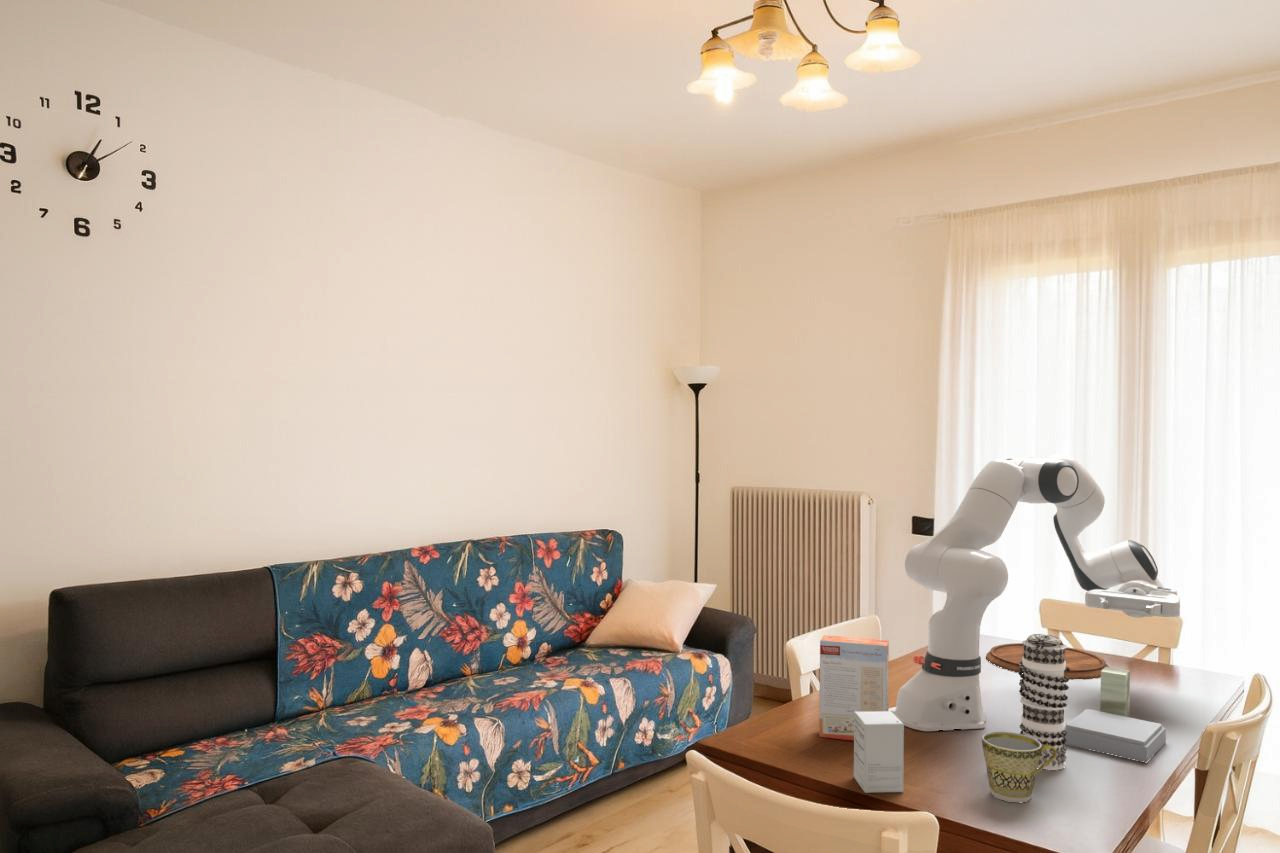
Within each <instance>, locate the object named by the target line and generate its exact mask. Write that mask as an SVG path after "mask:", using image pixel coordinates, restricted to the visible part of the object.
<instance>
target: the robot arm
mask: <svg viewBox="0 0 1280 853" xmlns="http://www.w3.org/2000/svg"><path fill="white" fill-rule="evenodd" d="M1019 502H1020V503H1027V504H1054V505H1055V507H1056V513H1055V514H1054V516H1053V518H1052V519H1053V525H1054V526H1053V527H1054V530H1055V532H1056V535H1057V537H1058V539H1059V541H1060V543H1061V546H1062V548H1063V550H1064V552H1065V555H1066V557H1067V560H1068V561H1069V563H1070V566H1071V567H1072V570H1073V574H1074V578H1075V580H1076V582H1077V583H1078V585H1079V586H1080V587H1081V589H1083V590H1084V591H1086V592H1085V595H1084V602H1085V606H1086V607H1089V608H1096V609H1105V610H1113V611H1121V612H1123V614H1125V615H1127V616H1128V617H1131V618H1136V619H1141V618H1151V617H1163V618H1165V617H1166V618H1167V617H1168V618H1180V616H1181V598H1180V596H1178V592H1177V590H1175V589H1170V588H1166V587H1163V584H1162V582H1161V581H1160V579H1158V574H1159V570H1158V566H1157V564H1156V561H1155V559H1154V557H1153V556H1152V554H1151V552H1150V551H1149V549H1148V548H1146V547H1145V545H1143V544H1140V543H1139V542H1137V541H1134V540H1133V539H1131V540H1130V539H1128V540H1125V541H1122V542H1120V543H1117V544H1114V545H1111V546H1109V547H1106V548H1103V549H1101V550H1098V551H1097V550H1096V551H1094V552H1091V553H1090V552H1085V551H1084V548H1083V546H1082V544H1081V542H1080V539H1079V538H1078V536H1079V535H1080V534H1081V533H1082V532H1083V531H1084V530H1086V529H1087V528H1088V527H1089V526H1091V525H1092V524H1093V523H1095V521H1097V520H1098V518H1099V517H1100V515H1102V512H1103V510H1104V507H1105V502H1106V499H1105V495H1104V493H1103V491H1102V489H1101V486H1099V484H1098V483H1097V481H1096V480H1095V478H1094V477H1093V475H1091V474H1090V472H1089V471H1088V470H1087V469H1086V468H1085V467H1084V466H1083V465H1082V464H1081V463H1080V462H1079V461H1078V460H1077V459H1076V458H1074V456H1071V455H1070V454H1067V453H1062V452H1061V453H1060V452H1059V453H1054V454H1052V455H1050V456H1048V457H1046V458H1039V457H1021V458H1007V459H1003V458H996V459H993V460H990V461H989V462H987V464H985V466H984V467H982V469H981V470H980V472H979V473H978V474H977V475H976V477H975V479H973V481H972V483H971V485H970V487H969V488H968V490H967V492H966V493H965V496H964V497H963V499H962V501H961V503H960V505H959V506H958V507H957V510H956V512H955V513H954V514H953V516H952V517H951V519H950V520H949V521H948V522H947V523H946V524H945V525H944V526H943V527H941V529H940V530H939V531H937V532H936V533H935V534H933V535H932V536H931V537H930V538H928V539H926V540H925V541H923V542H921V543H919V544H915V545H914V546H912V547H911V548H910V549H909V551H908V552H907V554H906V556H905V561H904V569H905V573H906V576H907V577H908V579H909V580H910V581H911V582H914V583H915V584H917V585H919V586H920V587H922V588H925V589H927V590H931V591H936V592H941V593H945V594H946V598H945V599H946V600H945V603H944V605H943V607H942V609H941V610H939V611H938V610H937V611H936V612H935V613H933V614H932V615H931V616H930V618H929V620H928V644H927V645H928V648H927V651H926V652H925V655H924V656H923V655H920V654H919V653H917V654H914V655H913V656H912V661H913V663H915V664H918V665H920V666H921V669H920V670H919V671H918V672H916V674H914V675H913V676H912V677H911V678H910V679H909V680H908V681H907V682H905V684H903V685H902V686H900V688H899V689H898V692H897V696H896V703H895V704H896V705H895V706H893V707H888V711H891V712H892V713H893V714H894V715H895V716H896V717H897V718H898V719H899V720H900V721H901V722H902V723H903V724H904V727H907V728H909V729H913V730H918V731H921V732H938V731H939V730H943V731H955V730H954V729H961V730H975V729H984V728H986V727H985V726H986V725H985V723H986V719H987V718H986V714H985V710H984V706H983V701H982V699H983V698H982V691H981V684H980V674H981V672H982V658H981V656H980V635H981V634H980V633H981V625H982V619H983V617H984V615H985V611H986V610H987V608H988V607H989V605H990V604H991V603H992V602H993V601H994V600H995V599H997V598H998V597H1000V596H1001V595H1003V593H1004V591H1005V590H1006V588H1007V585H1008V582H1009V573H1008V568H1007V566H1006V564H1005V563H1006V562H1004V561H1003V559H1002V558H1000V557H998V556H996V555H994V554H991V553H989V552H986V551H984V550H982V549H983V548H985V547H988V546H991V545H993V544H995V543H996V542H997V541H999V539H1001V537H1002V535H1003V533H1004V532H1005V530H1006V526H1007V525H1008V524H1009V521H1010V519H1011V517H1012V515H1013V513H1014V511H1015V509H1016V507H1017V505H1018V503H1019ZM1119 585H1121V586H1120V587H1119V588H1118V590H1111V589H1110V588H1113V587H1116V586H1119Z"/></svg>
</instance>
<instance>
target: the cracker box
mask: <svg viewBox="0 0 1280 853" xmlns="http://www.w3.org/2000/svg"><path fill="white" fill-rule="evenodd" d="M889 642H890V641H889V640H888V639H878V638H877V639H876V638H864V637H863V638H862V637H855V636H854V637H852V636H840V635H839V636H838V635H829V634H828V635H827V634H825V635H823V636H822V638H821V639H820V641H819V706H818V707H819V716H818V717H819V722H818V723H819V726H818V727H819V735H818V736H819V737H820V738H828V739H836V740H843V741H844V740H845V741H853V742H854V712H879V711H888V708H889V679H890V678H889V675H890V674H889V673H890V672H889V667H890V666H889V661H890V659H889V656H890V654H889V649H890V648H889Z"/></svg>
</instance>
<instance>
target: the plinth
mask: <svg viewBox="0 0 1280 853" xmlns="http://www.w3.org/2000/svg"><path fill="white" fill-rule="evenodd" d="M1065 730H1066V731H1067V734H1066V735H1065V736H1064V737H1065V739H1066V740H1067V741H1066V743H1065V744H1064V745H1065V746H1067V745H1068V746H1069V747H1074V746H1075V748H1078V747H1081V748H1080V749H1083V748H1086V749H1085V750H1087V749H1091V750H1095V751H1099V752H1098V753H1100V752H1104V753H1109V754H1113V755H1117V756H1122V757H1125V758H1130V759H1135V760H1138V761H1144V762H1147V761H1148V760H1149V759H1150V758H1151V757H1152V756H1153V755H1154V754H1155V753H1156V752H1157V751H1158V750H1159V749H1160V748H1161V747H1164V746H1165V744H1166V742H1167V740H1166V736H1167V735H1166V734H1167V728H1166V727H1163V724H1162V723H1157V722H1153V721H1147V720H1145V719H1138V718H1134V717H1130V716H1129V717H1125V716H1120V715H1115V714H1110V713H1105V712H1100V710H1095V709H1091V708H1085V710H1083V711H1082V712H1080V713H1079V714H1077V715H1076V716H1075V717H1074V718H1072V719H1071V720H1070V721H1069V722H1067V723H1065ZM1161 749H1162V748H1161ZM1161 749H1160V750H1161ZM1091 750H1090V751H1091ZM1160 750H1159V751H1160ZM1095 751H1094V752H1095ZM1159 751H1158V752H1159ZM1158 752H1157V753H1158ZM1104 753H1103V754H1104ZM1157 753H1156V754H1157ZM1156 754H1155V755H1156ZM1155 755H1154V756H1155ZM1117 756H1116V757H1117ZM1154 756H1153V757H1154ZM1153 757H1152V758H1153ZM1125 758H1124V759H1125ZM1152 758H1151V759H1152ZM1130 759H1129V760H1130ZM1138 761H1137V762H1138Z"/></svg>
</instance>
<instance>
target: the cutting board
mask: <svg viewBox="0 0 1280 853" xmlns="http://www.w3.org/2000/svg"><path fill="white" fill-rule="evenodd" d="M1023 648H1024V644H1023V643H1022V642H1019V643H1004V644H998V645H995V646H993V647H992V648H990V650H989V651H988V652H987V653H986V656H985V658H987V659H986V660H989V661H990V662H991V663H993V664H995V665H997V666H999V667H998V668H1000V667H1002V668H1001V669H1003V668H1005V669H1008V670H1007V671H1009V670H1011V671H1010V672H1012V671H1015V672H1014V673H1017V672H1020V668H1019V666H1018V665H1019V662H1020V661H1022V658H1023V656H1024V654H1023ZM989 661H988V662H989ZM1065 661H1066V667H1068V668H1070V670H1069V671H1067V672H1066V671H1064V676H1066V677H1068V678H1069V680H1070V679H1071V680H1073V679H1083V680H1094V679H1093V678H1095V679H1099V678H1100V679H1101V671H1102V670H1103V669H1104V668H1105V667H1110V666H1109V664H1107V662H1106V661H1105V659H1104V658H1102V657H1100V656H1098V655H1096V654H1094V653H1091V652H1088V651H1085V650H1080V649H1076V648H1072V647H1067V648H1065ZM990 662H989V663H990ZM991 663H990V664H991ZM993 664H992V665H993ZM995 665H994V666H995ZM997 666H996V667H997ZM1005 669H1004V670H1005ZM1071 680H1070V681H1071ZM1073 681H1074V680H1073Z"/></svg>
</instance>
